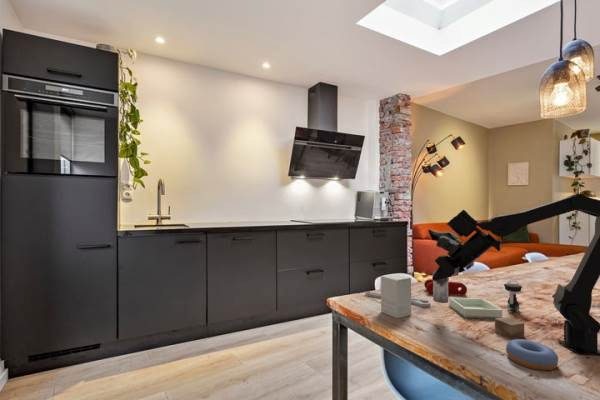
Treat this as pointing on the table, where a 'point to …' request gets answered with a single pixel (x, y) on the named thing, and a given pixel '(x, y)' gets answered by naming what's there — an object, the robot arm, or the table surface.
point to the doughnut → (532, 354)
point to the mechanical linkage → (451, 287)
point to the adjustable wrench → (414, 301)
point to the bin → (475, 308)
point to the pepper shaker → (440, 290)
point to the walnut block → (509, 327)
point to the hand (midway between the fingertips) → (436, 278)
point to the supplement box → (396, 295)
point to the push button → (513, 296)
